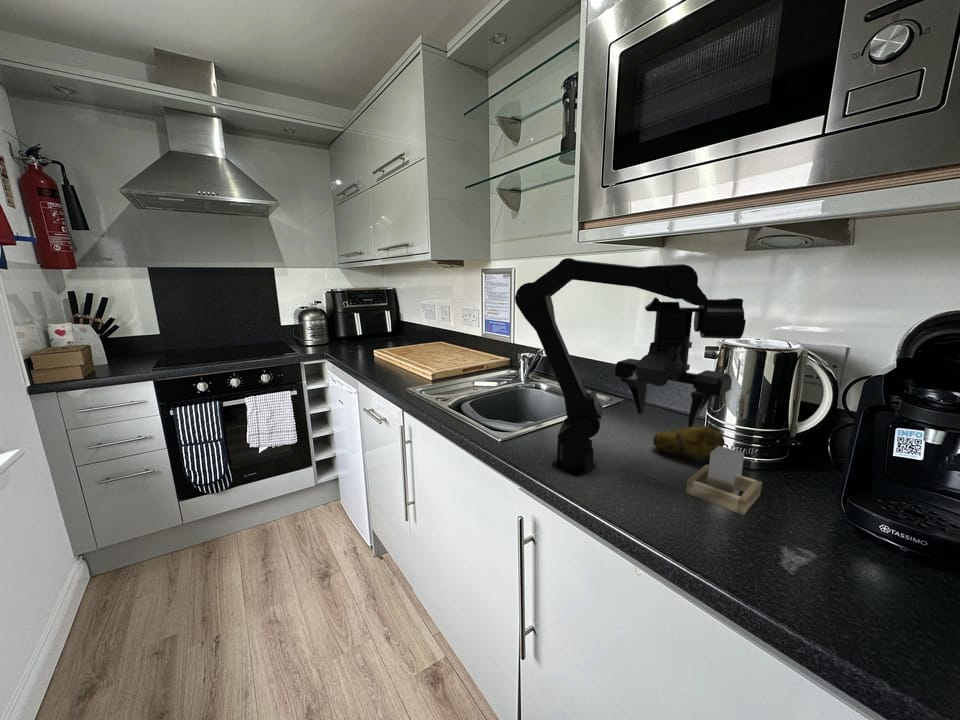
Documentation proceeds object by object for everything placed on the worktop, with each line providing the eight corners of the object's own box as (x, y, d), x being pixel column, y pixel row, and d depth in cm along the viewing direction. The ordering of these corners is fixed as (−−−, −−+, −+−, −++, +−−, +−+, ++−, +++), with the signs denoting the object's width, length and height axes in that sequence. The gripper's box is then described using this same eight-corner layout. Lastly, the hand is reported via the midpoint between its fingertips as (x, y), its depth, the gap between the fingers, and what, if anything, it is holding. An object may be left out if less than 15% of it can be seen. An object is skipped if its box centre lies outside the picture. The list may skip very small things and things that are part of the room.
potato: (673, 443, 90) (676, 410, 88) (728, 466, 79) (733, 429, 77) (647, 450, 86) (650, 416, 85) (701, 475, 75) (705, 437, 73)
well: (685, 493, 69) (687, 480, 69) (705, 476, 75) (706, 464, 74) (744, 515, 62) (745, 501, 62) (760, 494, 68) (762, 482, 68)
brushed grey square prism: (705, 493, 69) (710, 452, 67) (713, 485, 71) (718, 445, 70) (731, 503, 66) (736, 460, 64) (738, 494, 68) (744, 452, 67)
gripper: (600, 336, 70) (596, 417, 73) (712, 349, 56) (701, 448, 60) (631, 330, 77) (626, 404, 81) (737, 340, 63) (726, 429, 67)
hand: (664, 419), depth 72 cm, fingers open, 9 cm apart
